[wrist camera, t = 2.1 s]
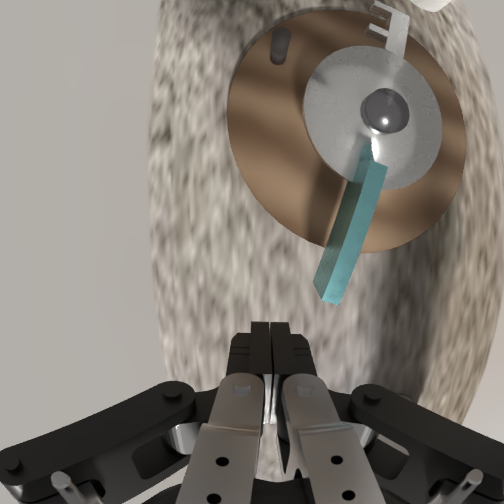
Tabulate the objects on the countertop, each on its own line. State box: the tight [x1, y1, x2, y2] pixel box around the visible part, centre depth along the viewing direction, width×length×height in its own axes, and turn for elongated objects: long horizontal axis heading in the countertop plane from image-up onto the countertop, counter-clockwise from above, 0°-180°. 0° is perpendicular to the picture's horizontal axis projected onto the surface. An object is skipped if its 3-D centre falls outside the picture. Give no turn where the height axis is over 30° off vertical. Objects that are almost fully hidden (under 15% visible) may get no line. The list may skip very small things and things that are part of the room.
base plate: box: [227, 10, 466, 253], centre depth 25 cm, size 28×28×8 cm
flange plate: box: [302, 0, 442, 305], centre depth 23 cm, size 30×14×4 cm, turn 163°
